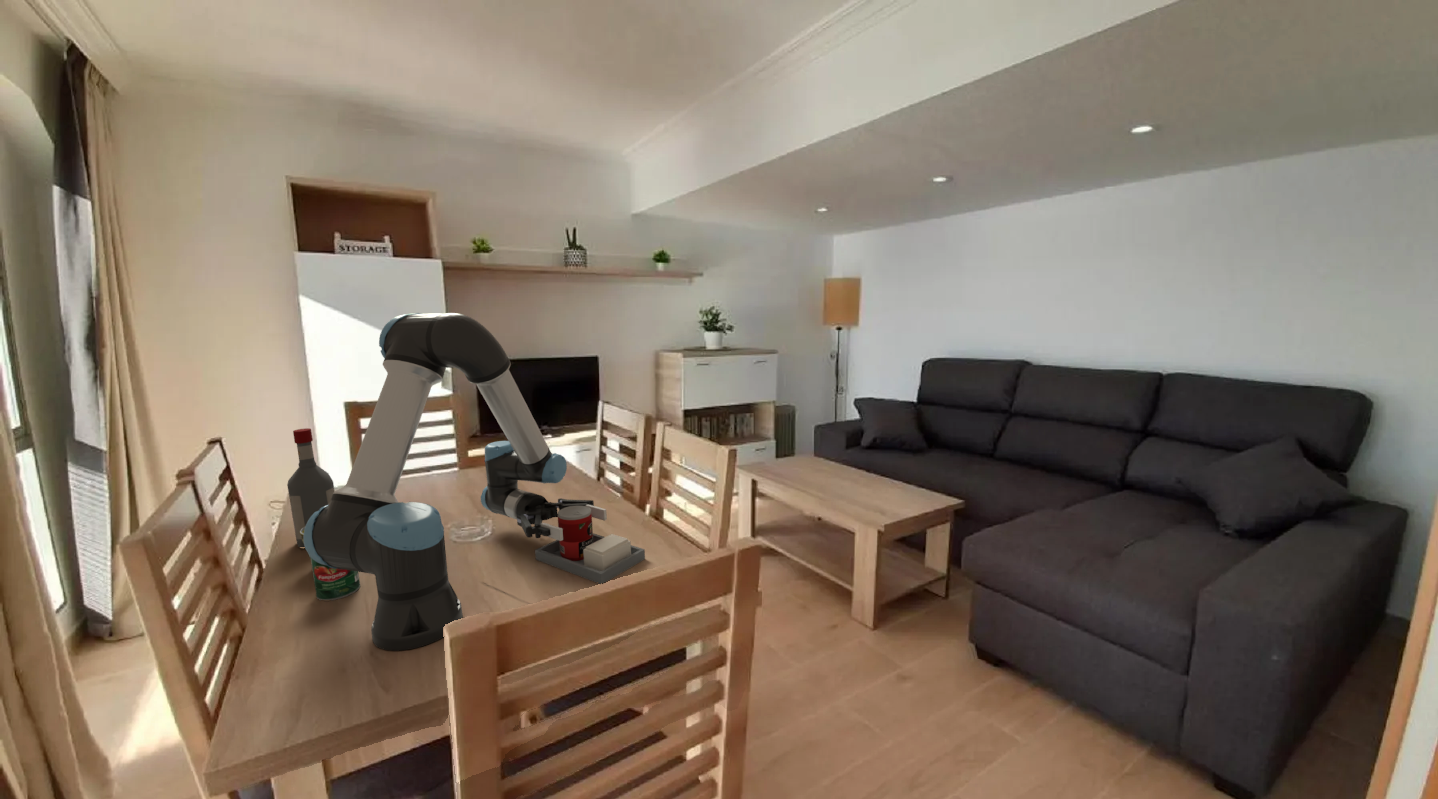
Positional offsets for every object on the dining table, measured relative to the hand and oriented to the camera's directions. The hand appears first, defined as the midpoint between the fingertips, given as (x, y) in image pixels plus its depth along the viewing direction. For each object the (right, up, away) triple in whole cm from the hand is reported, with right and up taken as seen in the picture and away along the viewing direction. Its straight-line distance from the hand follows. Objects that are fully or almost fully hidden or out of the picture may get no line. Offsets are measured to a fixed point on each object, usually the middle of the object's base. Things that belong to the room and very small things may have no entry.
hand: (584, 524), depth 129 cm
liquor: (-73, -8, +15) cm, 75 cm away
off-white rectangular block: (+6, -9, -2) cm, 11 cm away
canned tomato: (-50, -12, -11) cm, 53 cm away
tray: (+1, -9, +1) cm, 9 cm away
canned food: (-3, -8, +3) cm, 9 cm away
